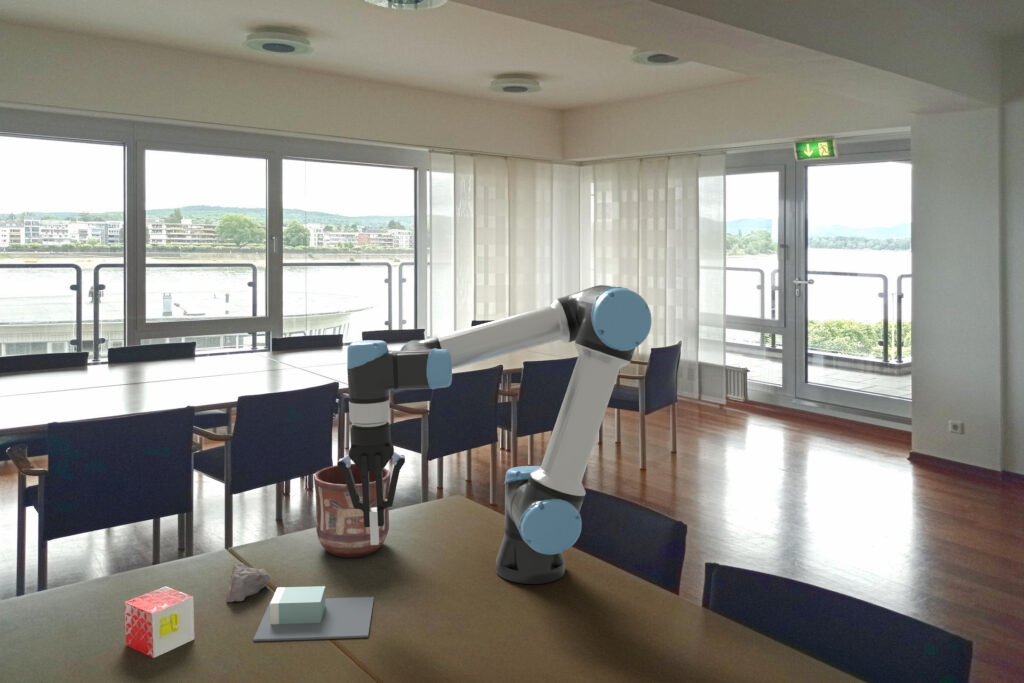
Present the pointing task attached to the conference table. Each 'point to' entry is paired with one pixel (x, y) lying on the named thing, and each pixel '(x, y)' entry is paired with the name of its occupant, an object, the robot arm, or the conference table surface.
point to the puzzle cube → (159, 621)
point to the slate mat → (324, 622)
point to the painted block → (297, 605)
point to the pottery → (346, 512)
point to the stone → (246, 582)
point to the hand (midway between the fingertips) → (374, 542)
